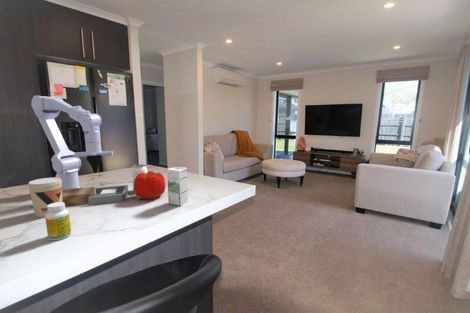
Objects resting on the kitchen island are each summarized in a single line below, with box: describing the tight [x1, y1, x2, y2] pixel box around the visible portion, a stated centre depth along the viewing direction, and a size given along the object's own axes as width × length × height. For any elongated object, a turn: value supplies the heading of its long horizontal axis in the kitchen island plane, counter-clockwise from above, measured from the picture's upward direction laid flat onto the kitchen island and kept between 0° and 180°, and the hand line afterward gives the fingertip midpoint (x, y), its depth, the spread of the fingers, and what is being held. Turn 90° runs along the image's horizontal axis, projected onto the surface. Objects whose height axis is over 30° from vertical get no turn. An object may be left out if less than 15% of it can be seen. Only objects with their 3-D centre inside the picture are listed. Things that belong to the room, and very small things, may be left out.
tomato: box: [133, 170, 166, 200], centre depth 100 cm, size 14×13×10 cm
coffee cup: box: [27, 176, 62, 218], centre depth 83 cm, size 9×9×12 cm
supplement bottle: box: [44, 202, 72, 241], centre depth 67 cm, size 5×5×10 cm
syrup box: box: [166, 166, 189, 207], centre depth 92 cm, size 6×6×14 cm
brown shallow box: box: [62, 186, 96, 207], centre depth 95 cm, size 13×10×4 cm
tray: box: [88, 184, 129, 206], centre depth 100 cm, size 13×14×3 cm
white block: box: [100, 189, 117, 196], centre depth 99 cm, size 6×6×2 cm
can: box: [131, 164, 148, 192], centre depth 108 cm, size 6×6×12 cm
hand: (96, 172), depth 103 cm, fingers closed
